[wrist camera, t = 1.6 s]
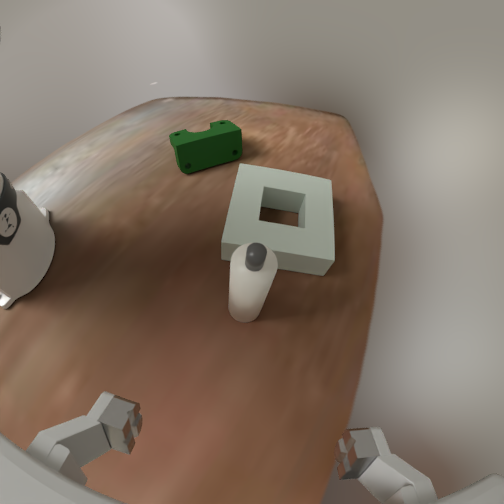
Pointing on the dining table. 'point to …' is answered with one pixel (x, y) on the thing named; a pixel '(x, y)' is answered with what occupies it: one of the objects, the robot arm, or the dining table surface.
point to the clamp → (207, 146)
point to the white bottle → (250, 280)
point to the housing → (278, 235)
